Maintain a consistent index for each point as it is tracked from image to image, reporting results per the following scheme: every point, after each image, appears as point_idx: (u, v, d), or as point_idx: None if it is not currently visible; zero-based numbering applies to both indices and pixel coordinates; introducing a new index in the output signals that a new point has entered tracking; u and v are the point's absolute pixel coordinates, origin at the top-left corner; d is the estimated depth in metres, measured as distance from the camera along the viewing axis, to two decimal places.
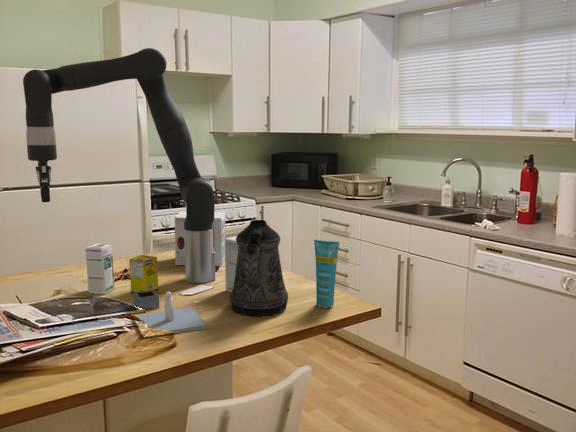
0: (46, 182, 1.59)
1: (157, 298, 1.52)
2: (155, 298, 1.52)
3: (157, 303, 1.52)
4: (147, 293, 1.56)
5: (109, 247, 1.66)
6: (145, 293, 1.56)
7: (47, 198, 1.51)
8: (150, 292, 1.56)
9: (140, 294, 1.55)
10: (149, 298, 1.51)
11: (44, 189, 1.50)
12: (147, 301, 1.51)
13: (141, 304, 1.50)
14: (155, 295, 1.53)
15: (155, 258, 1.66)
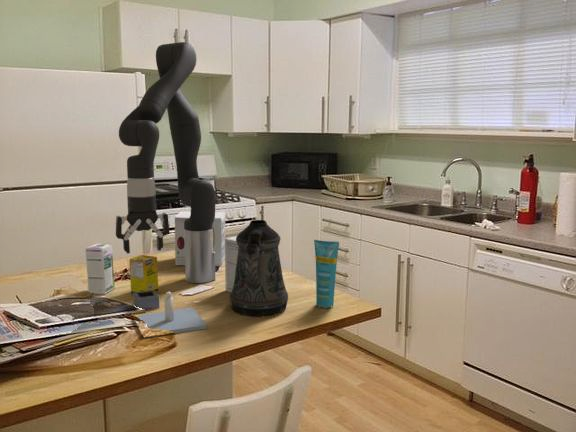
0: None
1: (157, 298, 1.52)
2: (155, 298, 1.52)
3: (157, 303, 1.52)
4: (147, 293, 1.56)
5: (109, 247, 1.66)
6: (145, 293, 1.56)
7: None
8: (150, 292, 1.56)
9: (140, 294, 1.55)
10: (149, 298, 1.51)
11: None
12: (147, 301, 1.51)
13: (141, 304, 1.50)
14: (155, 295, 1.53)
15: (155, 258, 1.66)
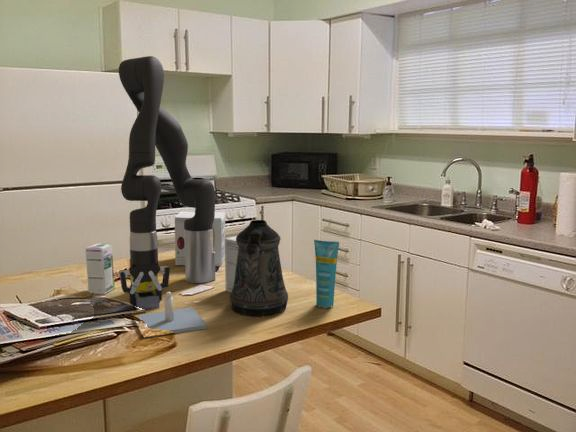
0: None
1: (157, 298, 1.52)
2: (155, 298, 1.52)
3: (157, 303, 1.52)
4: (147, 293, 1.56)
5: (109, 247, 1.66)
6: (145, 293, 1.56)
7: None
8: (150, 292, 1.56)
9: (140, 294, 1.55)
10: (149, 298, 1.51)
11: None
12: (147, 301, 1.51)
13: (141, 304, 1.50)
14: (155, 295, 1.53)
15: None
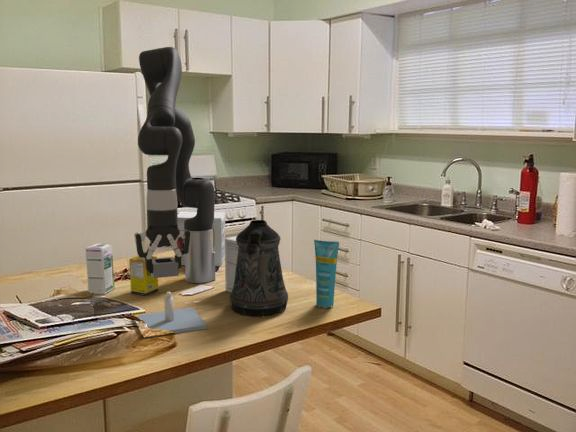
0: None
1: (176, 265, 1.37)
2: (174, 264, 1.37)
3: (176, 270, 1.37)
4: (165, 260, 1.41)
5: (109, 247, 1.66)
6: (163, 260, 1.40)
7: None
8: (168, 259, 1.41)
9: (157, 261, 1.40)
10: (167, 264, 1.36)
11: None
12: (164, 268, 1.36)
13: (158, 271, 1.35)
14: (174, 261, 1.37)
15: None
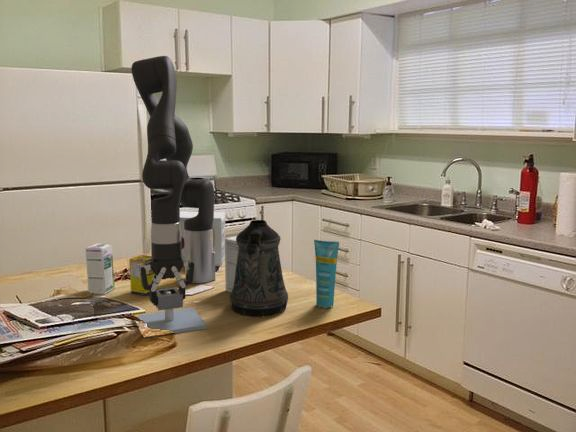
0: None
1: (181, 296, 1.38)
2: (178, 296, 1.38)
3: (180, 302, 1.38)
4: (169, 291, 1.42)
5: (109, 247, 1.66)
6: (167, 291, 1.42)
7: None
8: (172, 290, 1.42)
9: (161, 292, 1.41)
10: (172, 296, 1.37)
11: None
12: (169, 300, 1.37)
13: (163, 303, 1.36)
14: (178, 293, 1.39)
15: None
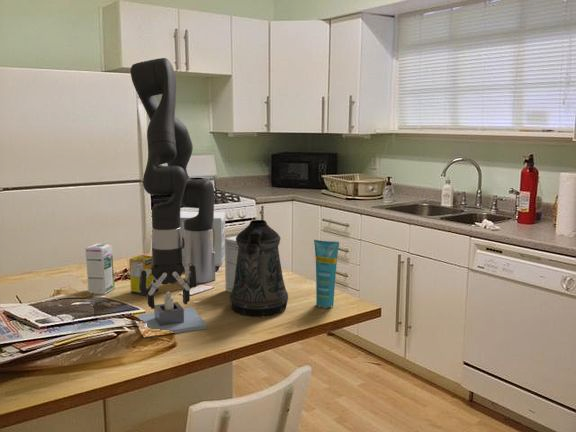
0: None
1: (182, 311, 1.39)
2: (179, 311, 1.39)
3: (182, 317, 1.39)
4: None
5: (109, 247, 1.66)
6: None
7: None
8: (173, 305, 1.43)
9: (162, 307, 1.42)
10: (173, 312, 1.38)
11: None
12: (170, 315, 1.38)
13: (164, 318, 1.37)
14: (179, 308, 1.40)
15: None
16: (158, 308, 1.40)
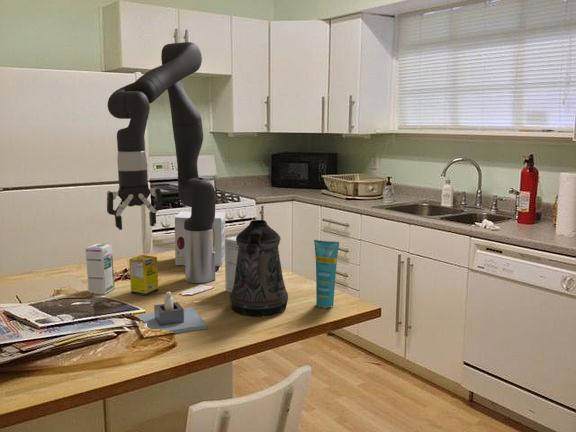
0: None
1: (182, 311, 1.39)
2: (179, 311, 1.39)
3: (182, 317, 1.39)
4: None
5: (109, 247, 1.66)
6: None
7: None
8: (173, 305, 1.43)
9: (162, 307, 1.42)
10: (173, 312, 1.38)
11: None
12: (170, 315, 1.38)
13: (164, 318, 1.37)
14: (179, 308, 1.40)
15: (155, 258, 1.66)
16: (158, 308, 1.40)
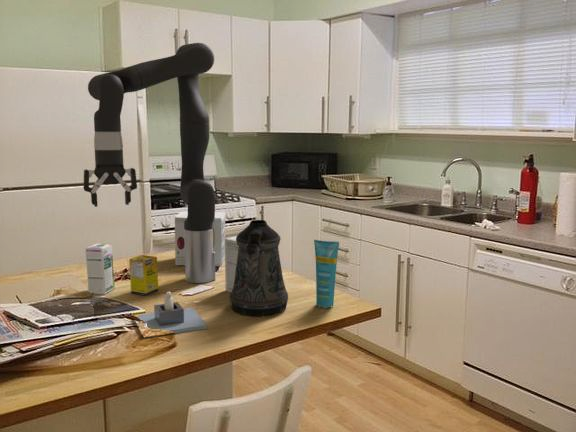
0: None
1: (182, 311, 1.39)
2: (179, 311, 1.39)
3: (182, 317, 1.39)
4: None
5: (109, 247, 1.66)
6: None
7: None
8: (173, 305, 1.43)
9: (162, 307, 1.42)
10: (173, 312, 1.38)
11: None
12: (170, 315, 1.38)
13: (164, 318, 1.37)
14: (179, 308, 1.40)
15: (155, 258, 1.66)
16: (158, 308, 1.40)
